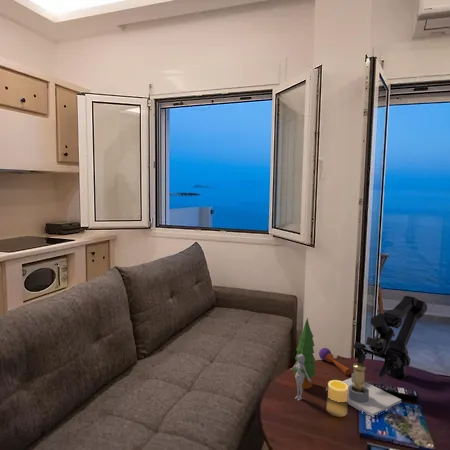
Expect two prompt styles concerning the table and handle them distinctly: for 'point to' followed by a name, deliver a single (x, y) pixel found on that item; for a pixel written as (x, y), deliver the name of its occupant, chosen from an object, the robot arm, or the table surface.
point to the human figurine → (300, 374)
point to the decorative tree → (306, 354)
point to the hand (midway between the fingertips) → (368, 372)
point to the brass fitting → (359, 377)
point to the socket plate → (370, 398)
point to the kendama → (327, 356)
